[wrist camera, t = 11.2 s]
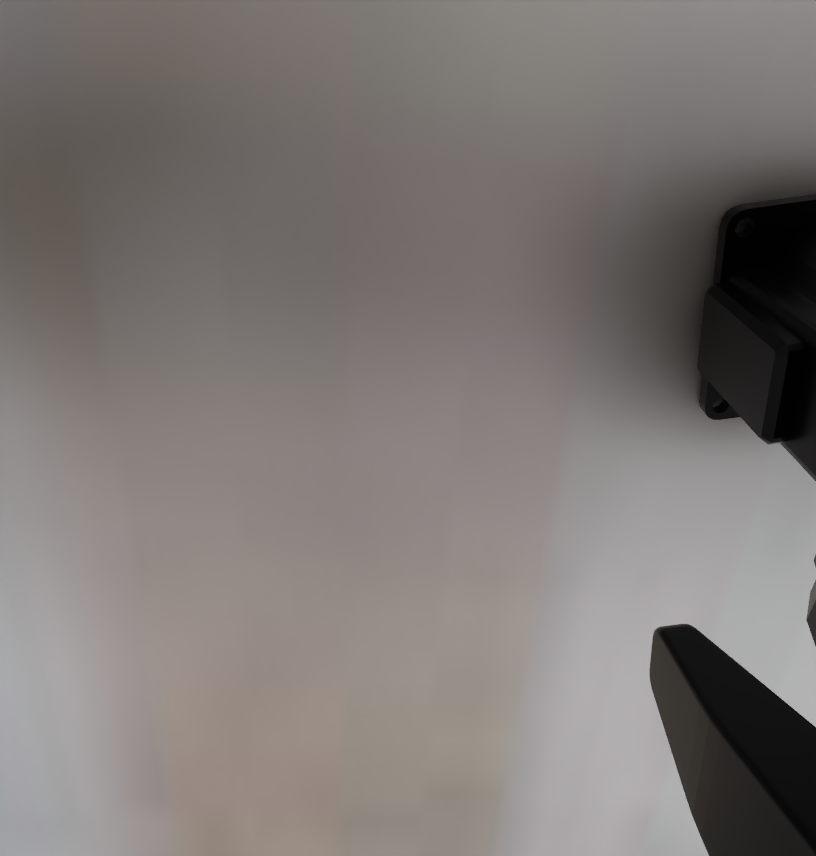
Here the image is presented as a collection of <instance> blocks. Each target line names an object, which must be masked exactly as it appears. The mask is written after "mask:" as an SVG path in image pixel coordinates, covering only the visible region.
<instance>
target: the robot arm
mask: <svg viewBox="0 0 816 856" xmlns="http://www.w3.org/2000/svg"><path fill="white" fill-rule="evenodd" d="M745 218H747V221H748V223H747V225H746V227H745V228H744V229H743V230H742V231H741V232H738V233H736V232H735V228H736V226H737V224H738V223H739V222H740V221H741V220H743V219H745ZM697 367H698V370H699V371H700V372H701V373H702V374H703V375H702V384H701V392H700V401H699V402H700V407H701V409H702V410H703V411H704V413H705V414H706V415H707V416H708V417H709V418H711V419H713V420H721V419H728V418H736V417H741V418H742V419H743V420H744V421H745V422H746V423H747V424H748V426H749V427H750V428H751V429H752V430H753V431H754V432H755V433H756V434H757V436H758V437H759V438H761V439H762V440H763V441H764V442H766V443H767V444H775V443H781V444H782V445H783V447H784V448H785V449H786V450H787V451H788V452H789V453H790V454H791V455H792V456H793V457H794V458H795V459H796V460H797V461H798V463H799V464H800V465H801V466H802V467H803V468H804V469H805V470H806V471H807V472H808V473H809V474H810V475H811V476H812V478H813V479H814V480H815V481H816V194H815V195H808V196H801V197H794V198H786V199H779V200H772V201H765V202H758V203H750V204H743V205H739V206H736V207H733V208H732V209H730V210H729V211H728V212H726V214H725V215H724V216H723V218H722V220H721V223H720V226H719V235H718V244H717V253H716V261H715V270H714V279H713V284H712V285H711V286H710V287H709V289H708V290H707V291H706V293H705V300H704V309H703V319H702V328H701V337H700V346H699V355H698V364H697ZM719 399H723V401H722V403H721V404H719V405H718V406H715V407H714V406H713V405H714V403H715V402H716V401H717V400H719ZM814 563H815V566H816V555H815V558H814ZM807 622H808V625H809V628H810V631H811V634H812V637H813V640H814V643H815V646H816V581H815V583H814V585H813V588H812V590H811V592H810V599H809V606H808V614H807ZM650 681H651V686H652V690H653V694H654V697H655V700H656V703H657V707H658V710H659V713H660V716H661V719H662V722H663V725H664V729H665V732H666V735H667V738H668V741H669V744H670V748H671V751H672V754H673V757H674V760H675V763H676V767H677V770H678V773H679V776H680V779H681V782H682V786H683V789H684V792H685V795H686V798H687V801H688V804H689V807H690V810H691V813H692V816H693V818H694V821H695V823H696V826H697V828H698V831H699V833H700V836H701V838H702V840H703V843H704V845H705V847H706V849H707V852H708V854H709V856H816V727H815V726H813V725H812V724H811V723H810V722H808V721H807V720H806V719H805V718H804V717H802V716H801V715H800V714H799V713H798V712H796V711H795V710H794V709H793V708H792V707H790V706H789V705H788V704H787V703H785V702H784V701H783V700H782V699H781V698H779V697H778V696H777V695H776V694H775V693H773V692H772V691H771V690H770V689H768V688H767V687H766V686H765V685H764V684H762V683H761V682H760V681H759V680H758V679H756V678H755V677H754V676H753V675H752V674H750V673H749V672H748V671H747V670H745V669H744V668H743V667H742V666H741V665H739V664H738V663H737V662H736V661H735V660H733V659H732V658H731V657H730V656H728V655H727V654H726V653H725V652H724V651H722V650H721V649H720V648H719V647H718V646H716V645H715V644H714V643H713V642H712V641H710V640H709V639H708V638H707V637H705V636H704V635H703V634H702V633H701V632H699V631H698V630H697V629H696V628H694V627H693V626H691V625H688V624H678V625H671V626H663V627H659V628H657V629H656V630H655V632H654V634H653V642H652V652H651V662H650Z"/></svg>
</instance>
